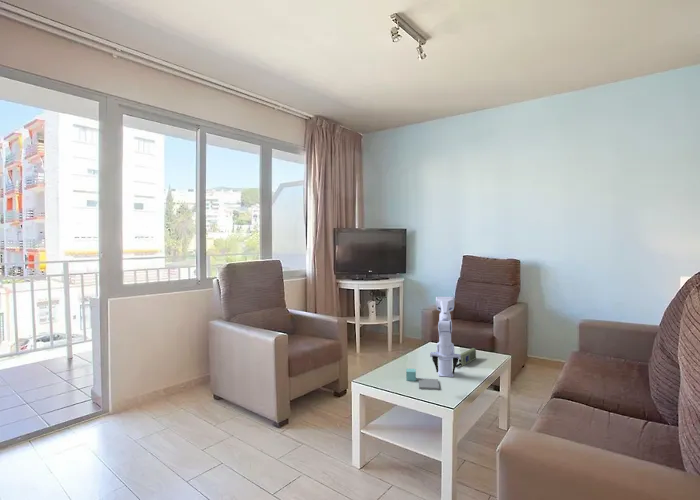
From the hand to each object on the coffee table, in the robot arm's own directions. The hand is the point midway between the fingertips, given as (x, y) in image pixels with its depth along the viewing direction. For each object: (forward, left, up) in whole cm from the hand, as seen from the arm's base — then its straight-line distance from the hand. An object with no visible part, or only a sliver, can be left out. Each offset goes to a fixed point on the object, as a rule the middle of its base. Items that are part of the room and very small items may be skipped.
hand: (445, 372), depth 184 cm
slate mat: (-9, -8, -10) cm, 15 cm away
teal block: (-16, -17, -10) cm, 25 cm away
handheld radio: (-48, +16, -10) cm, 51 cm away
